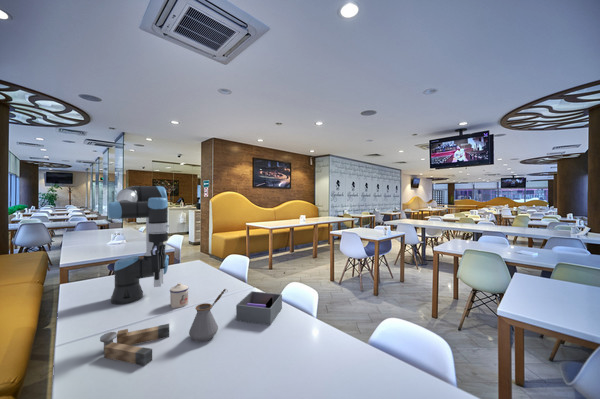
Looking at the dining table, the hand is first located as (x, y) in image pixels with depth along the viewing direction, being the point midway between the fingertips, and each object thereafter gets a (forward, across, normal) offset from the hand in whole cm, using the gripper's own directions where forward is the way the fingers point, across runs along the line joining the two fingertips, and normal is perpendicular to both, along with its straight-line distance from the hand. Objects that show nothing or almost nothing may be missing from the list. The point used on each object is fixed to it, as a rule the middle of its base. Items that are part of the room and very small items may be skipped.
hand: (158, 284), depth 111 cm
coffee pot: (+20, -8, -23) cm, 31 cm away
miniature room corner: (+20, +4, -45) cm, 49 cm away
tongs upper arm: (+20, -10, +5) cm, 23 cm away
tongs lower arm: (+20, -18, +6) cm, 27 cm away
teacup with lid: (+20, +25, -4) cm, 32 cm away
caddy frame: (+20, +2, -45) cm, 49 cm away
